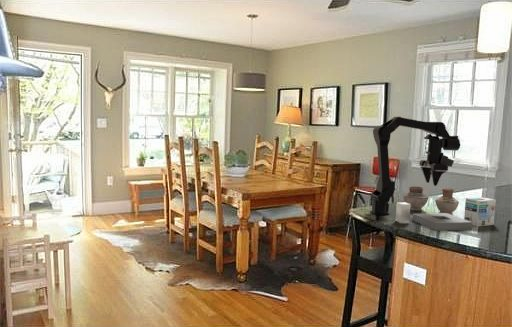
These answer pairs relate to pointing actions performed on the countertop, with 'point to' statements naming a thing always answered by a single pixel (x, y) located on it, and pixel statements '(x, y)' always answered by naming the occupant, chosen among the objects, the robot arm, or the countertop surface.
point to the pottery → (443, 203)
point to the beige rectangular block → (403, 212)
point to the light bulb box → (480, 211)
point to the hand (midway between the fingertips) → (431, 184)
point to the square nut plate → (442, 221)
